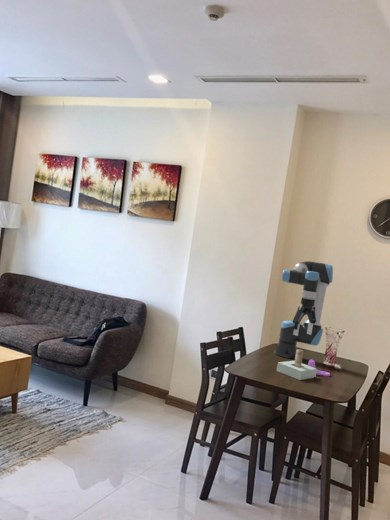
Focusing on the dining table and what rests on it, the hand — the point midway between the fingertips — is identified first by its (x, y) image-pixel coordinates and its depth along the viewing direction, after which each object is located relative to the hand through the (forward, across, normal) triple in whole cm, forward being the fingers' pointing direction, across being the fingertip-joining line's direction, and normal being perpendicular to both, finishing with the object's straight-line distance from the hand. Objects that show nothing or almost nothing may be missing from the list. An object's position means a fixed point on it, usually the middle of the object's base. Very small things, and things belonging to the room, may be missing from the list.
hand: (302, 334), depth 275 cm
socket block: (+23, +1, +1) cm, 23 cm away
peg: (+23, +1, +1) cm, 23 cm away
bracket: (+23, -17, +5) cm, 29 cm away
